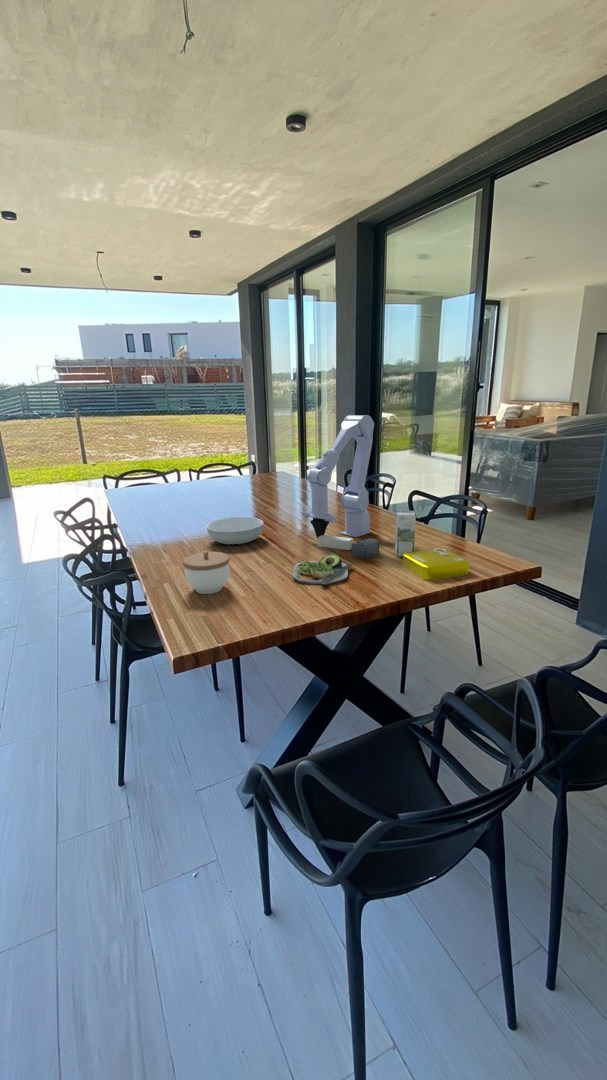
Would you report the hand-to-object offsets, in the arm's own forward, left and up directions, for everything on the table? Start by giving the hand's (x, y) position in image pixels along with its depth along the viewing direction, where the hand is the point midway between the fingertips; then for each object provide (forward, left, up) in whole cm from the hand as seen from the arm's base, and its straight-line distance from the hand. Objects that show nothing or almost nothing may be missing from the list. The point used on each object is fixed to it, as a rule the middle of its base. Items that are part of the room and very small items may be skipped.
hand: (320, 538), depth 178 cm
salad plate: (+23, +23, -2) cm, 32 cm away
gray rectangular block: (0, +7, -2) cm, 8 cm away
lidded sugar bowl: (+53, +8, -2) cm, 54 cm away
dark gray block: (0, +21, -1) cm, 21 cm away
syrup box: (-8, +31, -2) cm, 32 cm away
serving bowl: (+19, -25, -2) cm, 32 cm away
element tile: (-3, +46, -2) cm, 46 cm away
